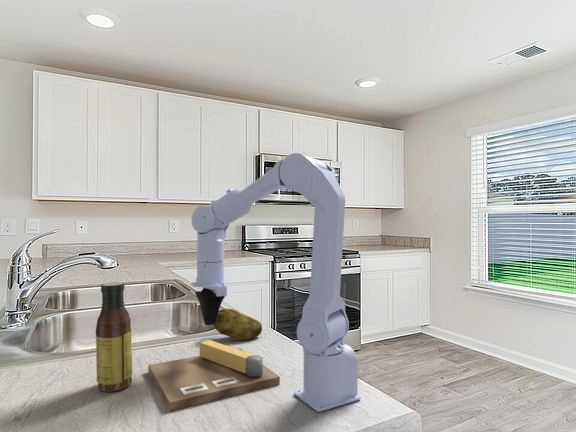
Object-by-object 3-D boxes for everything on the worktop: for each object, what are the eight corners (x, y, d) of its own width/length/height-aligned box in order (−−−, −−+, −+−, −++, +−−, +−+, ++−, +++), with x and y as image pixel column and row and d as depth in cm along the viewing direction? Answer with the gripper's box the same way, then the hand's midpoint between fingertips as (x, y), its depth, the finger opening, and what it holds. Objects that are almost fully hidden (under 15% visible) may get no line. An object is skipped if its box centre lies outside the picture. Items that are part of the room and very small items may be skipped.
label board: (240, 354, 90) (240, 347, 90) (279, 384, 74) (279, 376, 74) (148, 372, 79) (148, 364, 79) (169, 411, 63) (169, 401, 63)
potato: (256, 344, 97) (257, 313, 98) (209, 342, 99) (209, 311, 100) (263, 335, 106) (263, 306, 106) (219, 332, 108) (219, 304, 108)
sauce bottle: (122, 376, 77) (123, 279, 77) (138, 385, 73) (139, 282, 73) (89, 387, 72) (90, 283, 72) (104, 397, 68) (105, 286, 68)
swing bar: (266, 373, 74) (266, 357, 74) (254, 378, 72) (254, 362, 72) (209, 352, 86) (210, 339, 86) (198, 356, 83) (198, 342, 83)
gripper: (183, 259, 87) (182, 318, 86) (203, 265, 74) (202, 335, 74) (212, 258, 90) (212, 315, 90) (236, 264, 78) (236, 330, 77)
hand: (210, 324), depth 82 cm, fingers closed
